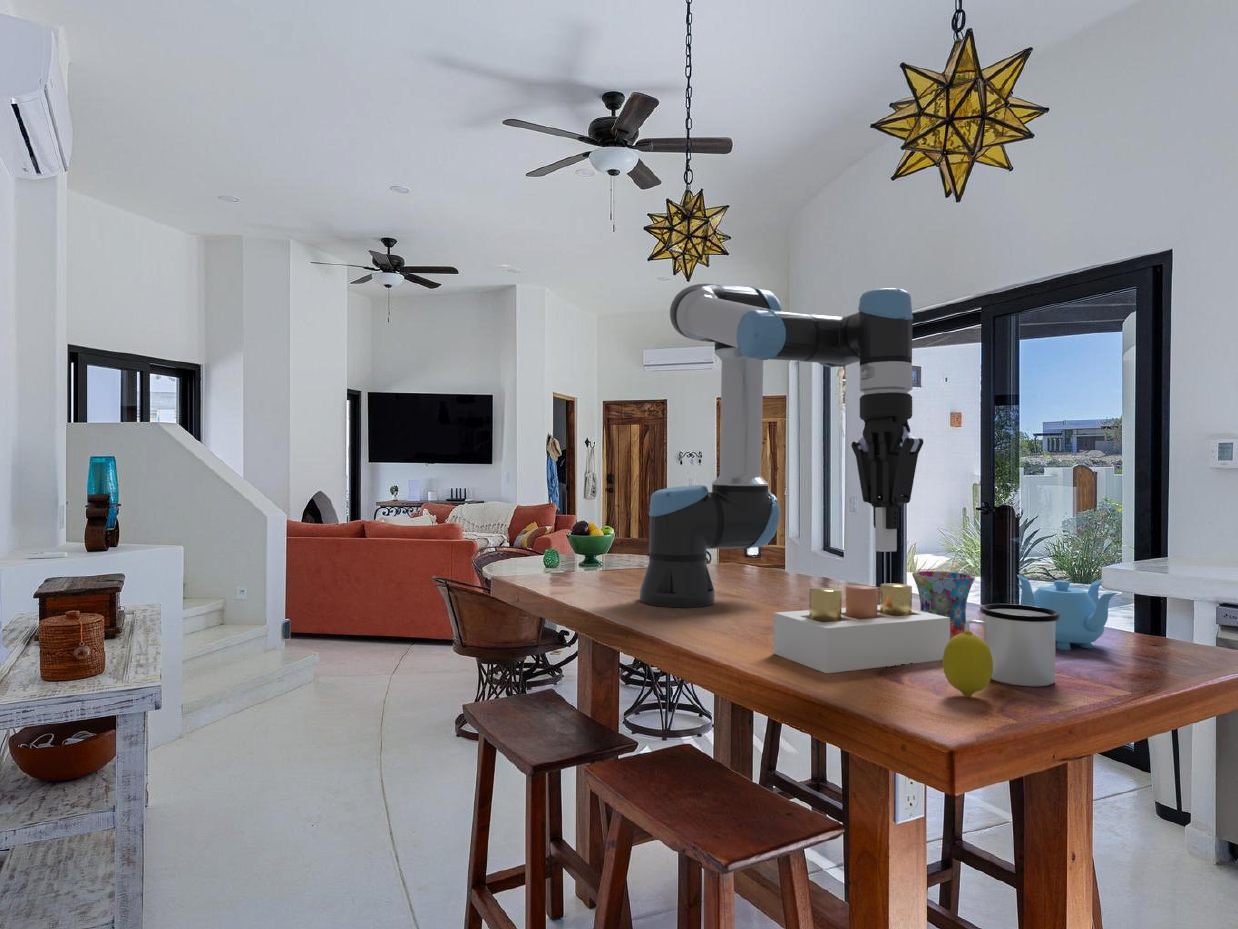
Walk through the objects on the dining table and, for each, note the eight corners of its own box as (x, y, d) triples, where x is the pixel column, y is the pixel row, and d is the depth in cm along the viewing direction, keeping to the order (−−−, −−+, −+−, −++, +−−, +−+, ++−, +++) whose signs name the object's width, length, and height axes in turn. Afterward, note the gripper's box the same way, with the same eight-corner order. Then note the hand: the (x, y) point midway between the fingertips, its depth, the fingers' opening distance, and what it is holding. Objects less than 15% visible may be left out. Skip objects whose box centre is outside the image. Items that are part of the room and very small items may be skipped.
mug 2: (1072, 680, 103) (1073, 611, 103) (1040, 693, 97) (1041, 619, 97) (981, 662, 113) (982, 598, 113) (947, 672, 107) (948, 605, 107)
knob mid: (839, 620, 116) (839, 586, 116) (862, 618, 118) (863, 584, 118) (859, 625, 112) (860, 590, 112) (883, 623, 114) (884, 589, 114)
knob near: (802, 623, 114) (803, 588, 114) (827, 621, 115) (828, 586, 116) (822, 629, 110) (822, 593, 110) (847, 627, 111) (848, 591, 111)
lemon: (951, 687, 99) (952, 624, 99) (998, 696, 95) (999, 630, 95) (935, 697, 95) (936, 630, 95) (984, 706, 91) (985, 637, 91)
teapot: (1016, 633, 134) (1016, 573, 134) (1107, 641, 128) (1107, 578, 128) (1017, 648, 122) (1017, 582, 123) (1117, 657, 117) (1118, 589, 117)
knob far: (873, 617, 119) (874, 584, 119) (896, 615, 121) (896, 582, 121) (895, 622, 115) (895, 588, 115) (918, 620, 117) (918, 586, 117)
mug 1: (954, 650, 120) (955, 580, 120) (899, 639, 127) (900, 573, 127) (994, 640, 127) (995, 574, 127) (940, 631, 135) (941, 568, 135)
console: (773, 653, 116) (774, 612, 116) (889, 642, 125) (890, 604, 125) (826, 673, 105) (826, 628, 105) (949, 659, 114) (950, 617, 114)
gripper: (837, 396, 123) (837, 548, 123) (897, 387, 112) (897, 555, 111) (875, 399, 126) (875, 547, 126) (937, 390, 114) (938, 554, 114)
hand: (886, 550), depth 118 cm, fingers closed
